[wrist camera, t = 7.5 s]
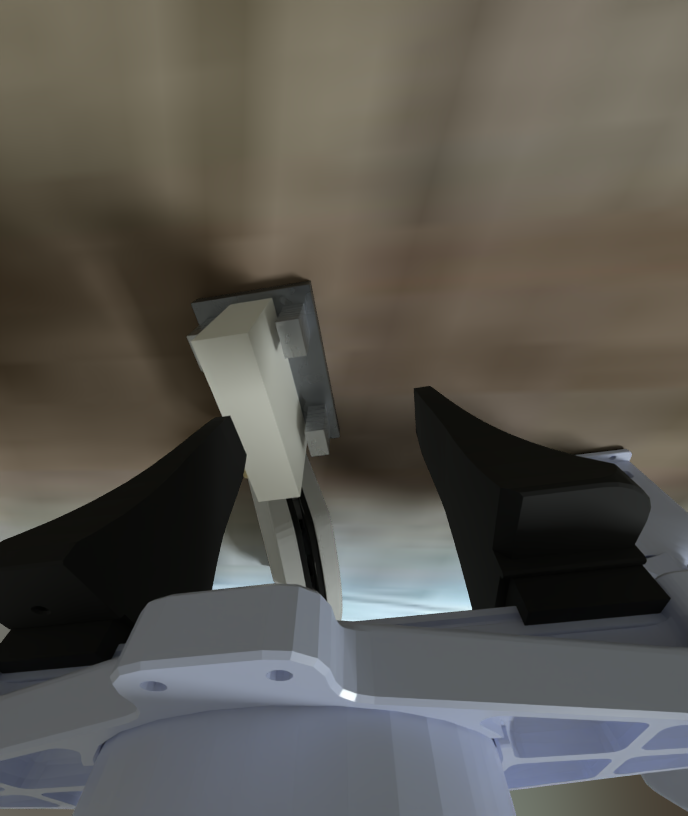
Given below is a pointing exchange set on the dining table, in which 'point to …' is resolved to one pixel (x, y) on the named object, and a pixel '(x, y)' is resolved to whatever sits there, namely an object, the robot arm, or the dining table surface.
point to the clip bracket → (291, 352)
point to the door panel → (256, 395)
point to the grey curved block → (302, 540)
